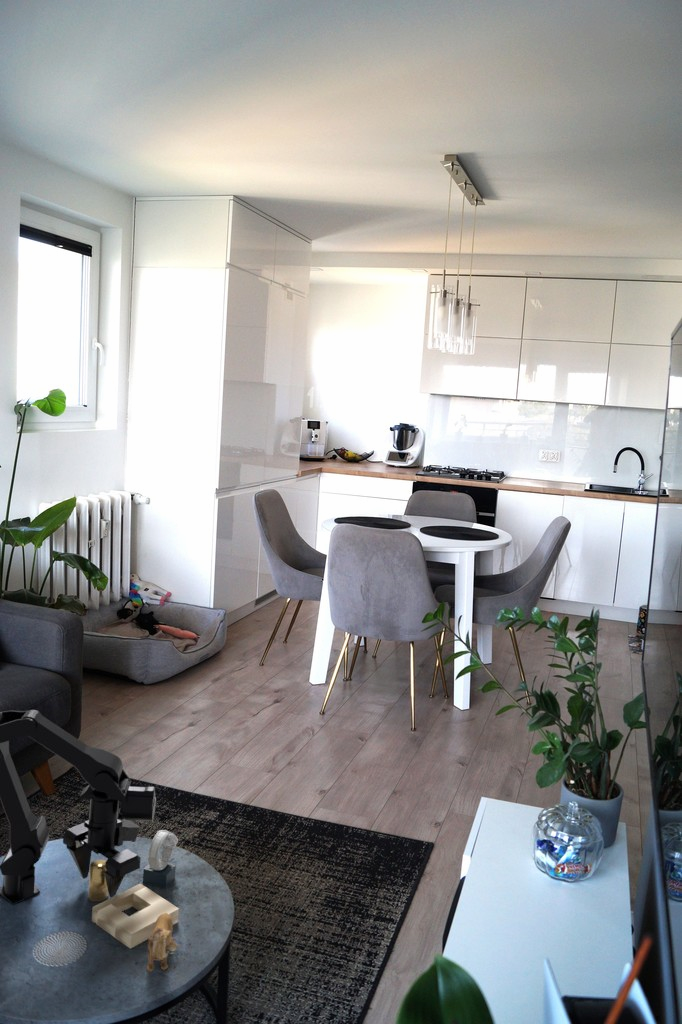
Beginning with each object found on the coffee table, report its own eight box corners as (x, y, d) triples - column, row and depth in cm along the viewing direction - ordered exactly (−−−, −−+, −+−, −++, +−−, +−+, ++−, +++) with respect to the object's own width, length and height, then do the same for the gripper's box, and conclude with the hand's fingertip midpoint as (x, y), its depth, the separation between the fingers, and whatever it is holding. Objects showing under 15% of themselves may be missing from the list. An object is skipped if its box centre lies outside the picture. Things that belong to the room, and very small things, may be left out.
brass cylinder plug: (84, 895, 180) (86, 864, 179) (99, 888, 183) (102, 857, 182) (95, 904, 178) (98, 872, 177) (111, 896, 181) (114, 865, 180)
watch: (178, 873, 192) (182, 827, 190) (161, 892, 184) (165, 844, 182) (156, 867, 193) (159, 821, 191) (138, 886, 185) (141, 838, 184)
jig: (91, 920, 172) (92, 906, 172) (139, 896, 182) (140, 883, 181) (130, 948, 165) (131, 934, 165) (177, 922, 175) (178, 908, 174)
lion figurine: (175, 982, 157) (179, 937, 156) (145, 984, 156) (149, 939, 155) (172, 932, 171) (176, 890, 170) (145, 933, 170) (148, 891, 169)
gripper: (163, 821, 179) (158, 890, 181) (107, 789, 190) (102, 855, 192) (120, 839, 170) (114, 912, 172) (63, 805, 181) (59, 874, 183)
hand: (98, 886), depth 180 cm, fingers open, 9 cm apart
